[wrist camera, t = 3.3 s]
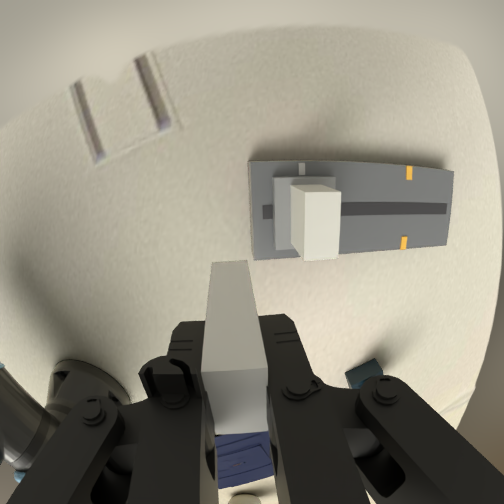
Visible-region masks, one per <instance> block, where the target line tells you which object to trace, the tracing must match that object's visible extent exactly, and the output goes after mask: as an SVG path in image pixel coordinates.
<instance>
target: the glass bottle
mask: <svg viewBox="0 0 504 504" xmlns="http://www.w3.org/2000/svg"><path fill="white" fill-rule="evenodd" d="M228 504H261V501H260V500H259V498H258V497H256V496H254V495H248V494H241V495H236V496H234V497H232V498H231V499H230V501H229V502H228Z"/></svg>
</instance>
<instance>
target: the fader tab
mask: <svg viewBox="0 0 504 504" xmlns="http://www.w3.org/2000/svg"><path fill="white" fill-rule="evenodd" d="M335 186H336V177H333V176H284V177H272V191H273V236H274V248H275V250H287V249H296V251H297V252H298V254H299V255H300V256H301V258H302V259H303V261H315V260H328V259H338V253H339V236H340V215H341V192H340V191H338V190H335Z"/></svg>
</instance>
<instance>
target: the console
mask: <svg viewBox="0 0 504 504" xmlns="http://www.w3.org/2000/svg"><path fill="white" fill-rule="evenodd" d="M248 176H249V199H250V223H251V246H252V254H253V258H254V260H267V259H281V258H295V257H301V256H300V255H299V254H298V252H297V251H296V249H287V250H275V248H274V236H273V191H272V177H284V176H333V177H336V186H335V190H338V191H340V192H341V215H340V236H339V253H338V254H347V253H360V252H373V251H385V250H397V249H400V250H405V249H409V248H421V247H433V246H444V245H446V243H447V237H448V230H449V223H450V214H451V205H452V193H453V178H454V171H450V170H444V169H438V168H430V167H421V166H412V165H402V164H390V163H376V162H359V161H333V160H269V161H248Z"/></svg>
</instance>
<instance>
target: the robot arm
mask: <svg viewBox="0 0 504 504" xmlns="http://www.w3.org/2000/svg"><path fill="white" fill-rule="evenodd" d="M170 341H171V343H170V344H169V348H168V352H167V355H166V356H160V357H157V358H155V359H152V360H150V361H149V362H147V363H146V364H145V365H144V366H142V368H141V370H140V371H139V373H138V374H139V377H140V379H141V382H142V384H143V387H144V389H145V391H146V394H147V396H148V398H147V399H145V400H143V401H140V402H137V403H133V404H130V400H129V397H128V395H127V393H126V392H125V390H124V389H123V388H122V387H121V385H120V384H119V383H118V382H117V381H116V380H114V379H113V378H112V377H111V376H109V375H108V374H107V373H105V372H104V371H102V370H100V369H98V368H97V367H95V366H92V365H90V364H88V363H85V362H81V361H77V360H65V361H62V362H60V363H58V364H57V365H56V367H55V369H54V370H53V372H52V374H51V376H50V381H49V388H48V396H47V404H46V406H45V408H43V407H42V406H41V405H40V404H39V403H38V402H37V401H36V400H35V399H34V398H33V397H32V396H31V395H30V394H29V393H28V392H27V391H26V390H25V389H24V388H23V387H22V386H21V385H20V384H19V383H18V382H17V381H16V380H15V379H14V378H13V377H12V376H11V374H10V373H9V372H8V371H7V370H6V369H5V365H4V364H2V363H0V465H1V463H2V461H5V462H6V463H8V464H9V465H10V466H12V467H13V468H14V469H15V470H16V471H15V472H14V478H15V480H16V481H17V482H18V483H19V485H18V486H17V488H16V489H15V491H14V492H13V494H12V496H11V497H10V499H9V500H8V502H7V503H6V504H219V501H218V472H217V449H216V445H215V433H216V435H217V434H239V433H252V432H263V431H269V437H270V455H269V458H271V459H272V465H273V471H274V477H275V483H276V489H277V495H278V501H279V504H370V501H369V498H368V495H367V493H366V491H367V492H368V493H369V495H370V496H371V497H372V499H373V500H374V501H375V503H376V504H504V475H503V474H502V473H500V472H499V471H498V470H497V469H496V468H495V467H494V466H493V465H492V464H491V463H490V462H489V461H488V460H487V459H486V458H485V457H484V456H482V454H481V453H479V452H478V451H477V450H476V449H475V448H474V447H473V446H472V445H471V444H470V443H469V442H468V441H467V440H466V439H465V438H464V437H463V436H461V435H460V434H459V433H458V432H457V431H456V430H455V429H454V428H453V427H452V426H451V425H450V424H449V423H448V422H447V421H446V420H445V419H443V418H442V417H441V416H440V415H439V414H438V413H437V412H436V411H435V410H434V409H433V408H432V407H431V406H430V405H428V404H427V403H426V402H425V401H424V400H423V399H422V398H421V397H420V396H419V395H418V394H417V393H416V392H415V391H413V390H412V389H411V388H410V387H409V386H408V385H407V384H406V383H405V382H403V381H402V380H400V379H399V378H396V377H393V376H389V375H378V376H375V377H371V378H369V379H368V380H366V381H365V382H364V383H363V385H362V386H361V388H360V389H348V388H337V387H332V386H329V385H326V384H324V383H323V381H322V380H321V379H320V378H319V377H317V376H316V375H314V373H313V371H312V369H311V366H310V363H309V361H308V358H307V356H306V353H305V350H304V348H303V345H302V342H301V341H300V337H299V334H298V333H297V329H296V327H295V324H294V321H292V320H291V319H290V318H289V317H288V316H287V315H285V314H276V315H265V316H258V314H257V309H256V304H255V299H254V294H253V289H252V283H251V278H250V273H249V268H248V262H247V260H243V261H228V262H213V263H212V266H211V274H210V283H209V292H208V301H207V311H206V321H187V322H180V323H179V325H178V326H177V327H176V328H175V329H174V330H173V332H172V336H171V340H170ZM365 489H366V490H365Z"/></svg>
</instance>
